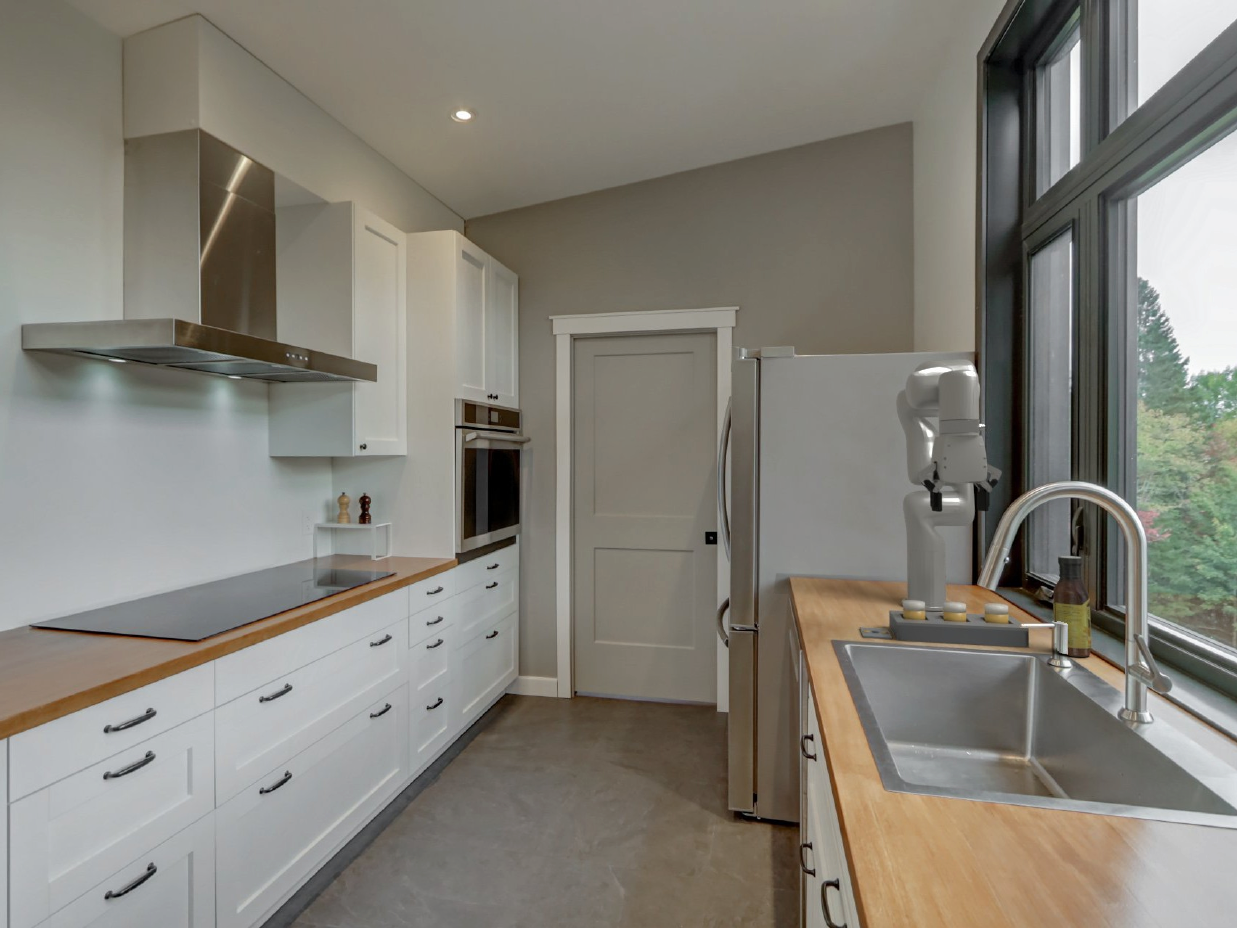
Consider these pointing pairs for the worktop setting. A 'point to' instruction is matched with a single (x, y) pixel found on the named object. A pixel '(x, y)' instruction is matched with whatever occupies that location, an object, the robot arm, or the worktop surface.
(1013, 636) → the button board
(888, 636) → the card
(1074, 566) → the sauce bottle
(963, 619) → the button middle
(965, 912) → the worktop surface
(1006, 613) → the button
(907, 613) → the button
